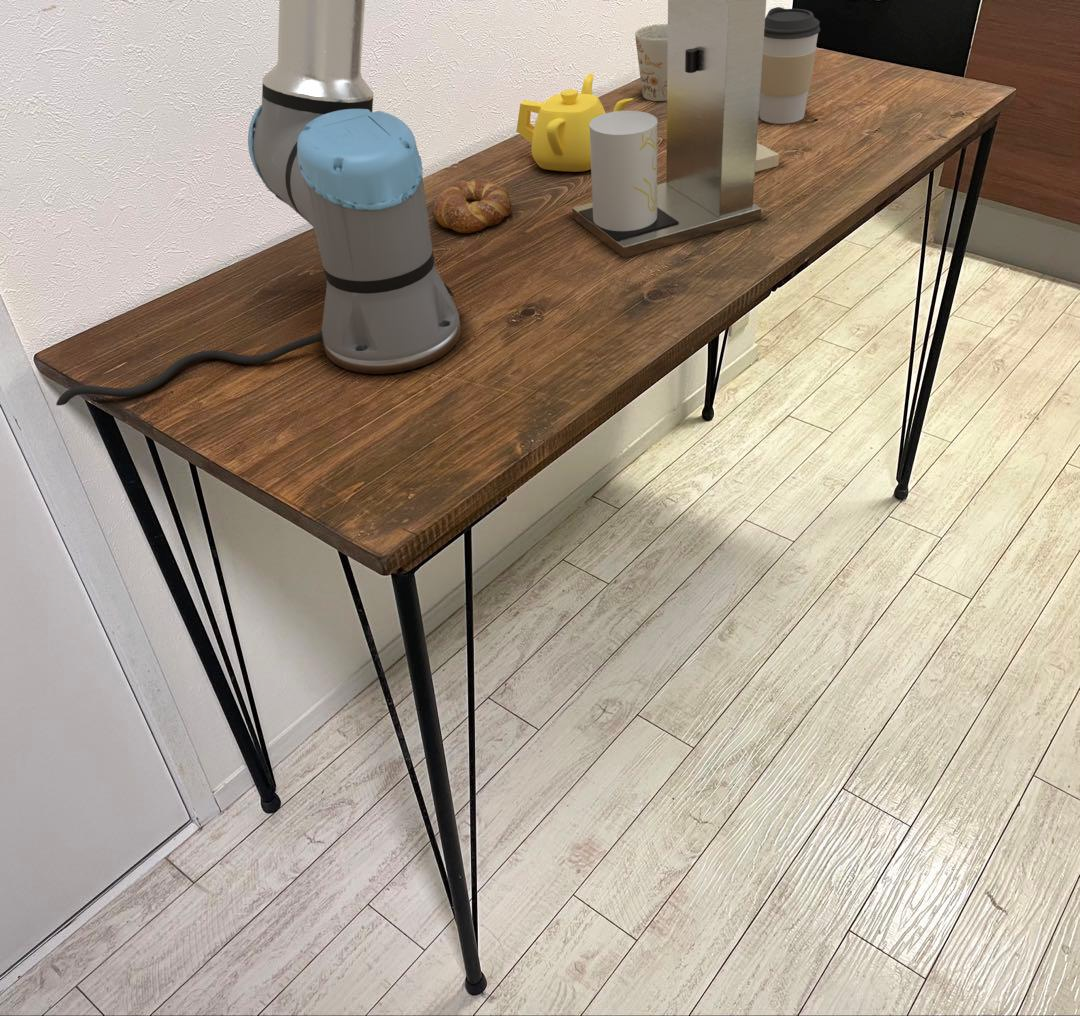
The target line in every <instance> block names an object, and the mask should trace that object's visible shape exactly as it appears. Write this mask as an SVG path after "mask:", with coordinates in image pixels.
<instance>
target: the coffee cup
mask: <svg viewBox="0 0 1080 1016" xmlns="http://www.w3.org/2000/svg"><path fill="white" fill-rule="evenodd" d="M820 32H821V27H820V20H819V19H818V18H816V17H815V15H814V12H813V11H810V10H808V9H803V8H784V7H782V6H777V7H773V8H770V9H769V10H768V12H767V14H766V15H765V28H764V43H763V58H762V73H761V88H760V103H759V119H760V120H761V121H763V122H765V123H769V124H776V125H777V124H778V125H781V124H783V125H785V124H792V123H796V122H800V121H801V120H803V119H804V118H805V114H806V108H807V103H808V102H807V101H808V96H809V91H810V90H811V84H812V78H813V73H814V67H815V62H816V55H817V50H818V47H817V43H818V36H819V33H820Z"/></svg>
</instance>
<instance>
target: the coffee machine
mask: <svg viewBox="0 0 1080 1016" xmlns="http://www.w3.org/2000/svg"><path fill="white" fill-rule="evenodd" d="M766 11H767V0H667V24H668V55H667V101H666V160H665V161H666V163H665V165H666V167H665V168H666V170H665V171H666V173H665V175H666V176H665V180H666V181H665V182H662V183H659V184H657V219H656V221H655V222H654V223H653V224H651V225H649V226H647V227H645V228H642V229H638V230H633V231H612V230H607V229H604V228H601V227H599V226H597V225H596V224H595V223H594V221H593V202H591V201H590V202H587V203H585V204H584V203H583V204H579V205H576V206H573V207H571V213H572V219H573V220H574V221H576V222H577V223H578V224H579V225H581V226H582V227H584V228H585V229H586V230H587V231H589V232H590V233H591V234H592V235H593V236H594V237H596V238H597V239H599V240H600V241H601V242H603V243H604V244H605V245H607V247H609V248H610V249H611V250H613V251H614V252H616V254H618V255H619V256H620V257H622V258H623V259H627V258H630V257H632V256H636V255H639V254H643V253H647V252H650V251H653V250H657V249H660V248H665V247H668V246H671V245H674V244H678V243H682V242H685V241H689V240H693V239H695V238H698V237H699V238H700V237H702V236H706V235H709V234H713V233H716V232H720V231H723V230H727V229H730V228H735V227H737V226H740V225H741V226H742V225H744V224H747V223H751V222H755V221H758V220H759V221H760V220H761V218H762V217H761V216H762V207H760V206H758V205H757V204H755V203H754V193H755V192H754V191H755V176H756V172H755V163H756V148H757V141H758V133H759V132H758V131H759V119H760V117H759V103H760V88H761V73H762V58H763V43H764V28H765V18H766V13H767V12H766Z"/></svg>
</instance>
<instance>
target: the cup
mask: <svg viewBox="0 0 1080 1016" xmlns="http://www.w3.org/2000/svg"><path fill="white" fill-rule="evenodd" d="M590 150H591V169H590V175H591V176H590V177H591V199H592V200H591V201H592V202H593V221H594V223H595V224H596V225H597V226H599V227H601V228H604V229H607V230H612V231H633V230H638V229H642V228H645V227H647V226H649V225H651V224H653V223H654V222H655V221H656V219H657V185H658V118H657V117H656V116H655V115H653V114H652V113H648V112H645V111H640V110H624V111H615V112H613V111H610V112H605V114H602V115H599V116H597V117H595V118H594V119H592V120H591V121H590Z"/></svg>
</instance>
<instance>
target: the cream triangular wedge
mask: <svg viewBox="0 0 1080 1016" xmlns="http://www.w3.org/2000/svg"><path fill="white" fill-rule="evenodd" d="M779 165H780V153H779V152H776V151H774V150H772V149H770V148H769V147H766V146H765V145H763V144H761V143H759V141H758V140H757V148H756V163H755V173H758V172H760V171H766V170H768V169H772V168H776V167H779Z"/></svg>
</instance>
